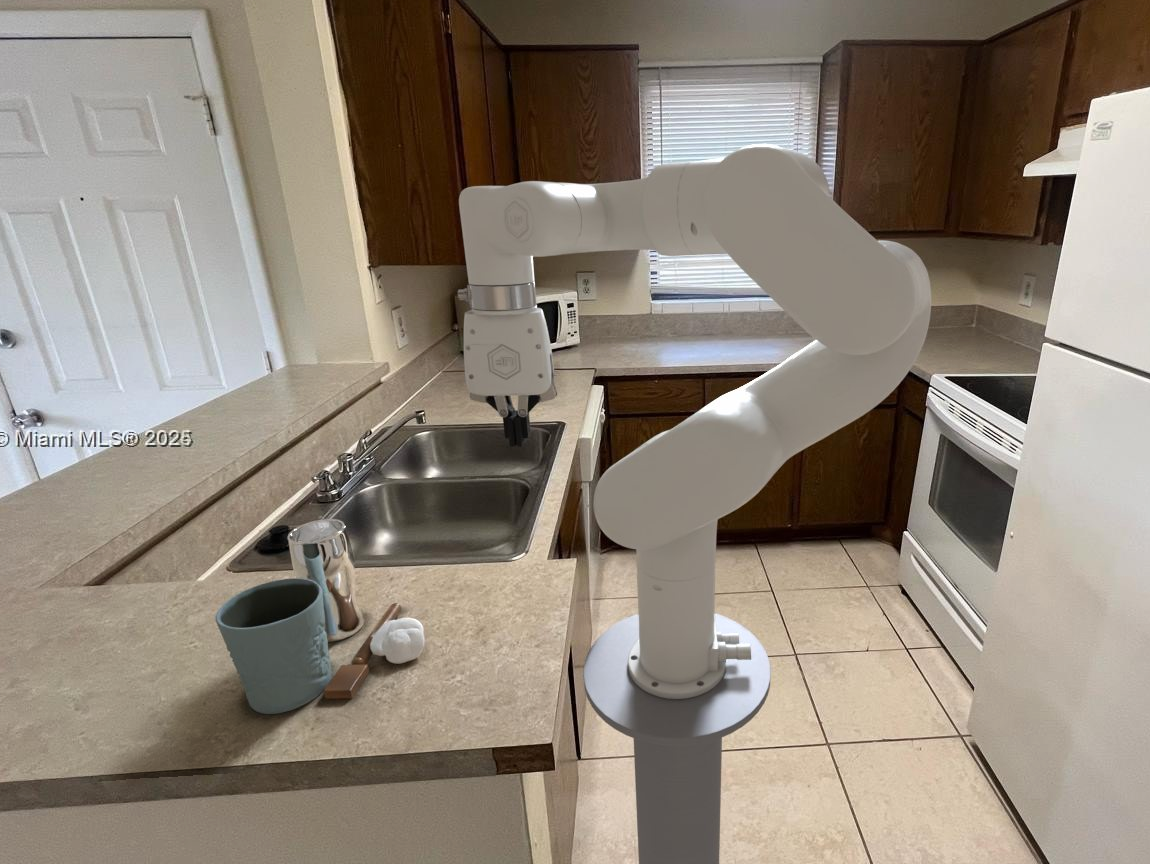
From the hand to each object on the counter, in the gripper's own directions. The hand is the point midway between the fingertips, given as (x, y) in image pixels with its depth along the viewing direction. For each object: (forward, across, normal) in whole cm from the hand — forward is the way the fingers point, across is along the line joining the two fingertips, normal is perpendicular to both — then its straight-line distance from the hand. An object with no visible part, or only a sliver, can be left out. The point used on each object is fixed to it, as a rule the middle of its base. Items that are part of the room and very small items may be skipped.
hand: (518, 443), depth 79 cm
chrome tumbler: (+25, -26, -4) cm, 36 cm away
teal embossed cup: (+25, -26, -15) cm, 39 cm away
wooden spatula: (+25, -20, -9) cm, 33 cm away
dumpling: (+25, -16, -9) cm, 31 cm away
